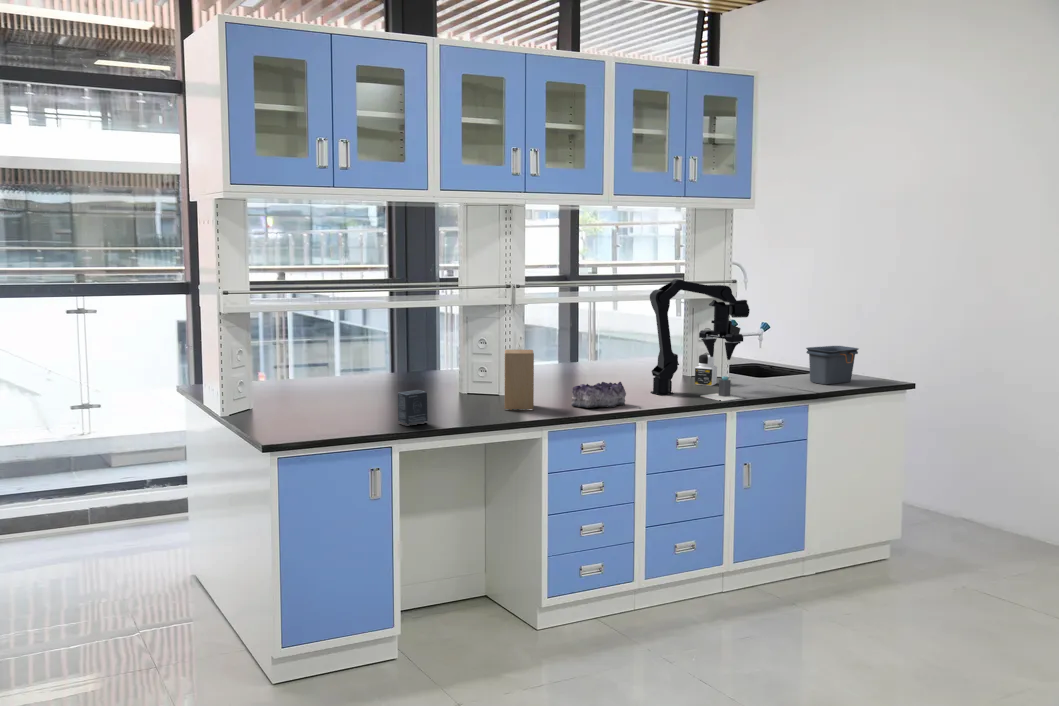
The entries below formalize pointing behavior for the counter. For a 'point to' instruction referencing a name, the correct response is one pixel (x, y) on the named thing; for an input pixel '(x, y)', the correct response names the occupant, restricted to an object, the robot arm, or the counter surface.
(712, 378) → the medicine bottle
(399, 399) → the box
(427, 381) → the counter surface
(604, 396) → the geode
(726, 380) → the grey bottle
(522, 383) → the wooden block
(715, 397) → the notepad
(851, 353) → the storage bin
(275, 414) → the counter surface
